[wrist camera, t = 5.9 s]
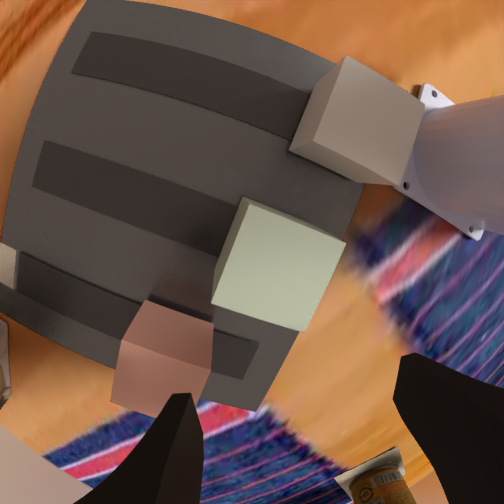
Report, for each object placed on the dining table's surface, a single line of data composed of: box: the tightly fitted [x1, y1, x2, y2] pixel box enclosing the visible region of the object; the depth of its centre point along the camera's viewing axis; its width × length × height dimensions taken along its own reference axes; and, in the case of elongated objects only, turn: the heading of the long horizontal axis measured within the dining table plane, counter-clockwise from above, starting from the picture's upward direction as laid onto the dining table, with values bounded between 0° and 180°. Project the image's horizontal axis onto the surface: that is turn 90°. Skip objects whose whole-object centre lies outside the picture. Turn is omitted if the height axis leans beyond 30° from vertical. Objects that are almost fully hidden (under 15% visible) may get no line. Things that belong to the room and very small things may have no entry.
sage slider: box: [211, 196, 346, 332], centre depth 14 cm, size 4×4×4 cm
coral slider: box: [110, 300, 214, 418], centre depth 14 cm, size 4×4×4 cm
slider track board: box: [0, 0, 365, 412], centre depth 16 cm, size 20×22×1 cm
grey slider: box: [289, 55, 425, 186], centre depth 12 cm, size 4×4×4 cm
